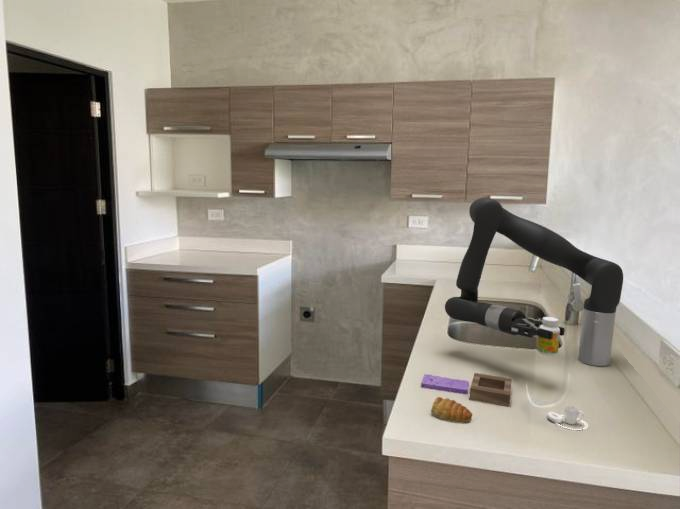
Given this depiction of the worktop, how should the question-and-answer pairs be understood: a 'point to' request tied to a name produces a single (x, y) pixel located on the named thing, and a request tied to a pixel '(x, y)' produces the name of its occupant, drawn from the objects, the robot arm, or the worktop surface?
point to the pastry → (450, 410)
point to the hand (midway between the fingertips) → (557, 333)
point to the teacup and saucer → (567, 417)
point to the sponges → (444, 384)
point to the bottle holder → (491, 389)
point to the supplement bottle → (545, 344)
